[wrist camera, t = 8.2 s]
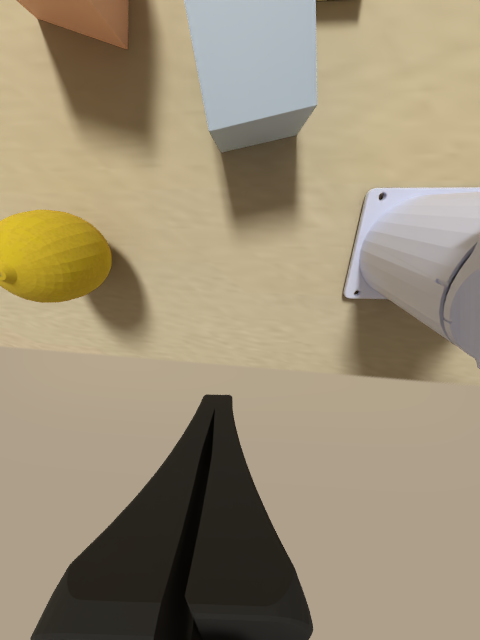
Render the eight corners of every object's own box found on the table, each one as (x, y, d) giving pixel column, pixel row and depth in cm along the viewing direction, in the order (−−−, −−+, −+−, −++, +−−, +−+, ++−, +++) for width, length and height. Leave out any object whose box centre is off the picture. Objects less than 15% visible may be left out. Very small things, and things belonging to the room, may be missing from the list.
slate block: (290, 20, 12) (314, -86, 8) (296, 135, 14) (317, 104, 10) (202, 46, 13) (176, -39, 8) (221, 152, 15) (208, 131, 10)
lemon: (101, 290, 20) (18, 339, 13) (47, 236, 18) (-88, 257, 11) (144, 256, 18) (77, 289, 11) (90, 192, 16) (-33, 183, 9)
